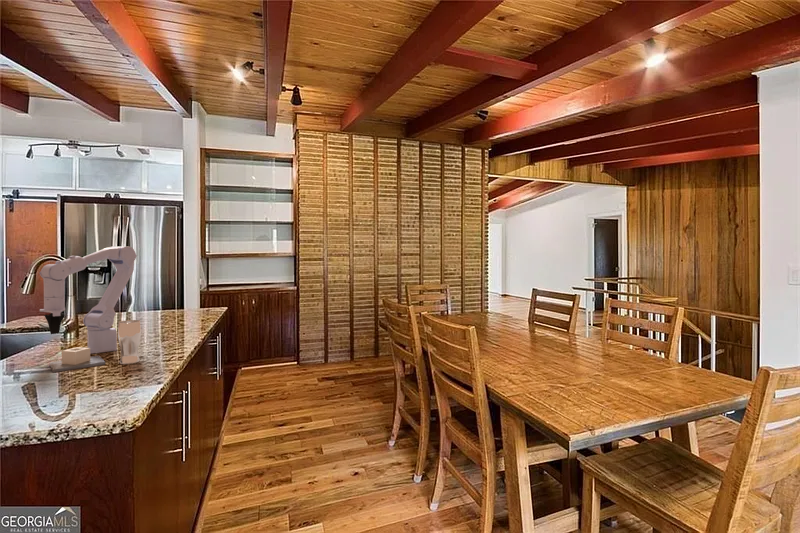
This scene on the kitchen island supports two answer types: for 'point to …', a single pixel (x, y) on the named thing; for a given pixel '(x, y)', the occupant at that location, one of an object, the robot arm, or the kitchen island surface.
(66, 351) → the block
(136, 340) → the beer glass
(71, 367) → the flat plate
